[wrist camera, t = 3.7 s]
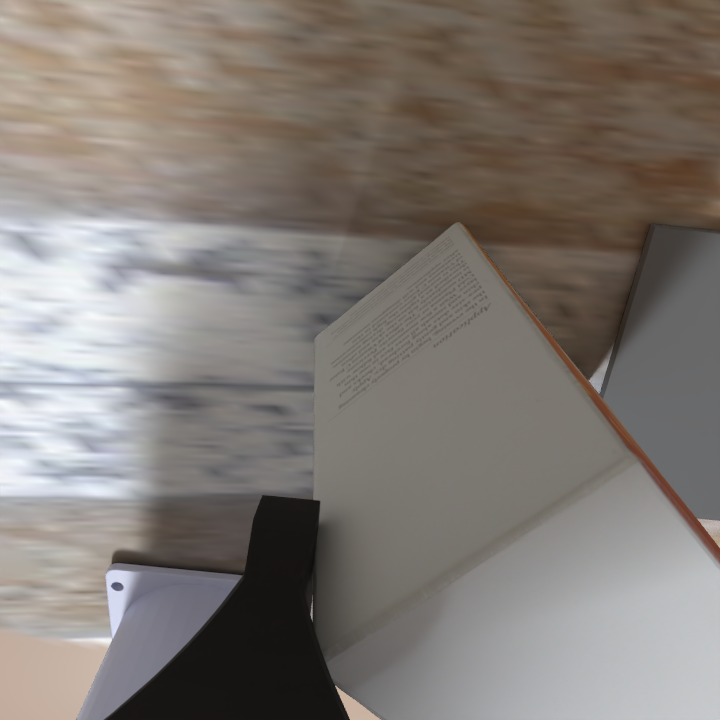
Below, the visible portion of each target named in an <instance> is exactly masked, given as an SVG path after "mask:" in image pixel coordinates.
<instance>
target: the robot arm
mask: <svg viewBox="0 0 720 720" xmlns="http://www.w3.org/2000/svg"><path fill="white" fill-rule="evenodd" d="M319 514H320V501H318V500H308V499H297V498H286V497H276V496H265V495H262V498H261V500H260V503H259V505H258V508H257V511H256V514H255V516H254V519H253V525H252V531H251V537H250V543H249V549H248V556H247V562H246V568H245V573H244V574H243V575H233V574H223V573H213V572H203V571H193V570H183V569H173V568H163V567H153V566H143V565H133V564H123V563H114V564H112V565H110V566H109V568H108V570H107V571H106V575H105V578H106V587H107V597H108V606H109V616H110V625H111V634H112V642H111V644H110V646H109V649H108V651H107V653H106V655H105V658H104V660H103V662H102V664H101V666H100V668H99V671H98V673H97V675H96V677H95V679H94V682H93V684H92V686H91V688H90V690H89V692H88V695H87V697H86V699H85V701H84V704H83V706H82V708H81V710H80V712H79V714H78V717H77V719H76V720H350V719H349V717H348V714H347V712H346V710H345V708H344V705H343V703H342V701H341V699H340V696H339V694H338V692H337V689H336V687H335V685H334V683H333V680H332V678H331V675H330V673H329V670H328V667H327V665H326V662H325V659H324V657H323V654H322V651H321V648H320V645H319V642H318V639H317V636H316V633H315V630H314V626H313V623H312V619H311V616H310V612H311V604H312V595H313V564H314V556H315V549H316V541H317V533H318V526H319ZM117 582H119V583H121V584H119V583H117Z"/></svg>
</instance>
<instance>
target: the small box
mask: <svg viewBox="0 0 720 720" xmlns="http://www.w3.org/2000/svg"><path fill="white" fill-rule="evenodd" d="M313 500H318V501H320V514H319V526H318V533H317V541H316V549H315V556H314V564H313V626H314V630H315V633H316V636H317V639H318V642H319V645H320V648H321V651H322V654H323V657H324V659H325V662H326V665H327V667H328V670H329V673H330V675H331V678H332V680H333V683H334V685H336V686H337V687H338V688H339V689H341V690H342V691H343V692H345V693H346V694H348V695H349V696H350V697H352V698H353V699H355V700H356V701H357V702H359V703H360V704H361V705H363V706H364V707H365V708H367V709H368V710H369V711H370V712H372V713H373V714H374V715H376V716H377V717H378V718H380V719H381V720H720V548H719V547H718V545H717V544H716V543H715V541H714V540H713V539H712V538H711V536H710V535H709V534H708V532H707V531H706V530H705V529H704V527H703V526H702V525H701V523H700V522H699V521H698V520H697V518H696V517H695V516H694V514H693V513H692V512H691V511H690V509H689V508H688V507H687V506H686V504H685V503H684V502H683V501H682V500H681V498H680V497H679V496H678V495H677V493H676V492H675V491H674V490H673V488H672V487H671V486H670V485H669V483H668V482H667V481H666V479H665V478H664V477H663V476H662V474H661V473H660V472H659V470H658V469H657V468H656V467H655V465H654V464H653V463H652V462H651V460H650V459H649V458H648V456H647V455H646V454H645V453H644V451H643V450H642V449H641V447H640V446H639V445H638V444H637V442H636V441H635V440H634V439H633V437H632V436H631V435H630V433H629V432H628V431H627V430H626V428H625V427H624V425H623V424H622V423H621V422H620V421H619V419H618V418H617V417H616V416H615V414H614V413H613V411H612V410H611V409H610V408H609V406H608V405H607V404H606V402H605V401H604V400H603V398H602V397H601V396H600V395H599V394H598V392H597V391H596V390H595V389H594V387H593V386H592V385H591V383H590V382H589V381H588V380H587V379H586V377H585V376H584V375H583V374H582V373H581V371H580V370H579V369H578V368H577V367H576V365H575V364H574V363H573V362H572V360H571V359H570V358H569V357H568V355H567V354H566V353H565V352H564V350H563V349H562V348H561V347H560V345H559V344H558V343H557V342H556V340H555V339H554V338H553V337H552V335H551V334H550V333H549V332H548V330H547V329H546V328H545V327H544V325H543V324H542V323H541V322H540V320H539V319H538V318H537V317H536V315H535V314H534V313H533V312H532V310H531V309H530V308H529V307H528V306H527V304H526V303H525V302H524V301H523V299H522V298H521V297H520V296H519V295H518V293H517V292H516V291H515V289H514V288H513V287H512V286H511V284H510V283H509V282H508V281H507V279H506V278H505V277H504V276H503V274H502V273H501V272H500V271H499V269H498V268H497V267H496V265H495V264H494V263H493V262H492V260H491V259H490V258H489V257H488V255H487V254H486V253H485V252H484V250H483V249H482V248H481V246H480V245H479V244H478V243H477V241H476V240H475V239H474V238H473V236H472V235H471V234H470V232H469V231H468V230H467V228H466V227H465V226H464V225H463V224H462V223H461V222H457V223H455V224H453V225H452V226H451V227H449V228H448V229H447V230H446V231H445V232H443V233H442V234H441V235H440V236H439V237H437V238H436V239H435V240H434V241H433V242H431V243H430V244H429V245H428V246H426V247H425V248H424V249H423V250H422V251H420V252H419V253H418V254H417V255H415V256H414V257H413V258H412V259H410V260H409V261H408V262H407V263H406V264H404V265H403V266H402V267H401V268H399V269H398V270H397V271H396V272H395V273H393V274H392V275H391V276H390V277H389V278H387V279H386V280H385V281H384V282H382V283H381V284H380V285H379V286H377V287H376V288H375V289H374V290H372V291H371V292H370V293H369V294H367V295H366V296H365V297H363V298H362V299H361V300H360V301H359V302H357V303H356V304H355V305H354V306H353V307H351V308H350V309H349V310H348V311H346V312H345V313H344V314H343V315H342V316H340V317H339V318H338V319H337V320H336V321H334V322H333V323H332V324H331V325H329V326H328V327H327V328H326V329H324V330H323V331H322V332H320V333H319V334H318V335H317V336H316V337H315V339H314V467H313Z"/></svg>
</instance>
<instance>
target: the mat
mask: <svg viewBox="0 0 720 720" xmlns="http://www.w3.org/2000/svg"><path fill="white" fill-rule="evenodd" d="M600 396H601V397H602V398H603V400H604V401H605V402H606V404H607V405H608V406H609V408H610V409H611V410H612V411H613V413H614V414H615V416H616V417H617V418H618V419H619V421H620V422H621V423H622V424H623V425H624V427H625V428H626V430H627V431H628V432H629V433H630V435H631V436H632V437H633V439H634V440H635V441H636V442H637V444H638V445H639V446H640V447H641V449H642V450H643V451H644V453H645V454H646V455H647V456H648V458H649V459H650V460H651V462H652V463H653V464H654V465H655V467H656V468H657V469H658V470H659V472H660V473H661V474H662V476H663V477H664V478H665V479H666V481H667V482H668V483H669V485H670V486H671V487H672V488H673V490H674V491H675V492H676V493H677V495H678V496H679V497H680V498H681V500H682V501H683V502H684V503H685V504H686V506H687V507H688V508H689V509H690V511H691V512H692V513H693V514H694V516H695V517H696V518H699V519H709V520H719V521H720V231H715V230H705V229H696V228H686V227H677V226H667V225H658V224H650V228H649V231H648V235H647V238H646V241H645V245H644V248H643V251H642V255H641V258H640V261H639V265H638V268H637V271H636V275H635V278H634V281H633V285H632V288H631V291H630V295H629V298H628V302H627V305H626V308H625V312H624V315H623V318H622V322H621V325H620V328H619V332H618V335H617V338H616V342H615V345H614V348H613V352H612V355H611V358H610V362H609V365H608V368H607V372H606V375H605V379H604V382H603V385H602V389H601V392H600Z"/></svg>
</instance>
